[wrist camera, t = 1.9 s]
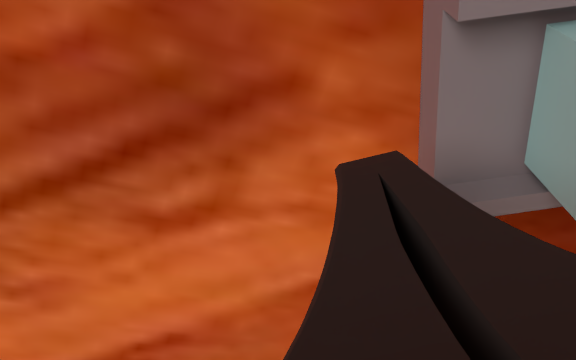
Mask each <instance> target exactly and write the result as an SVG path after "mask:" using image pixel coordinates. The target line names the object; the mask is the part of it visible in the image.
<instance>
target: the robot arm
mask: <svg viewBox="0 0 576 360" xmlns="http://www.w3.org/2000/svg"><path fill="white" fill-rule="evenodd" d="M335 174H336V179H337V186H338V192H337V206H336V213H335V221H334V227H333V232H332V237H331V241H330V245H329V250H328V254H327V258H326V261H325V265H324V268H323V271H322V275H321V277H320V280H319V283H318V286H317V289H316V292H315V294H314V297H313V299H312V302H311V304H310V306H309V309H308V311H307V314H306V316H305V318H304V320H303V323H302V325H301V327H300V329H299V331H298V333H297V335H296V337H295V339H294V341H293V342H292V344H291V346H290V348H289V350H288V352H287V353H286V355H285V357H284V359H283V360H576V254H574V253H572V252H569V251H566V250H564V249H561V248H559V247H556V246H554V245H552V244H549V243H547V242H544V241H542V240H540V239H538V238H536V237H534V236H532V235H529V234H527V233H525V232H523V231H521V230H519V229H517V228H514V227H512V226H510V225H509V224H507V223H505V222H503V221H501V220H499V219H497V218H495V217H494V216H492V215H490V214H488V213H487V212H485V211H483V210H481V209H480V208H478V207H476V206H475V205H473V204H472V203H470V202H468V201H467V200H465V199H464V198H462V197H461V196H459V195H458V194H456V193H455V192H453V191H452V190H450V189H449V188H447V187H446V186H444V185H443V184H441V183H440V182H439V181H437V180H436V179H434V178H433V177H432V176H430V175H429V174H428V173H426V172H425V171H423V170H422V169H421V168H419V167H418V166H417V165H416V164H414V163H413V162H412V161H410V160H409V159H408V158H407V157H405V156H404V155H403V154H401V153H400V152H398V151H393V152H389V153H384V154H380V155H376V156H372V157H367V158H363V159H359V160H355V161H350V162H346V163H342V164H339V165H338V166H337V168H336V169H335Z"/></svg>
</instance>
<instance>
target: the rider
mask: <svg viewBox="0 0 576 360" xmlns="http://www.w3.org/2000/svg"><path fill="white" fill-rule="evenodd" d="M524 163H525V165H526V166H527V167H528V168H529V169H530V170H531V171H532V172H533V173H534V175H535V176H536V177H537V178H538V179H539V180H540V181H541V182H542V183H543V185H544V186H545V187H546V188H547V189H548V190H549V191H550V192H551V193H552V195H553V196H554V197H555V198H556V199H557V200H558V201H559V202H560V203H561V205H562V206H563V207H564V208H565V209H566V210H567V211H568V212H569V213H570V215H571V216H572V217H573V218H574V219H575V220H576V20H573V21H565V22H558V23H550V24H547V25H546V32H545V38H544V44H543V50H542V56H541V62H540V69H539V75H538V81H537V87H536V93H535V100H534V106H533V112H532V118H531V124H530V130H529V137H528V143H527V149H526V155H525V161H524Z"/></svg>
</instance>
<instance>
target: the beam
mask: <svg viewBox="0 0 576 360" xmlns="http://www.w3.org/2000/svg"><path fill="white" fill-rule="evenodd" d="M573 20H576V0H424V7H423V37H422V67H421V96H420V126H419V156H418V167H419V168H421V169H422V170H423V171H425V172H426V173H428V174H429V175H430V176H432V177H433V178H434V179H436V180H437V181H439V182H440V183H441V184H443V185H444V186H446V187H447V188H449V189H450V190H452V191H453V192H455V193H456V194H458V195H459V196H461V197H462V198H464V199H465V200H467V201H468V202H470V203H472V204H473V205H475V206H476V207H478V208H480V209H481V210H483V211H485V212H487V213H488V214H490V215H492V216H500V215H507V214H514V213H521V212H528V211H535V210H542V209H549V208H556V207H563V206H562V205H561V203H560V202H559V201H558V200H557V199H556V198H555V197H554V196H553V195H552V193H551V192H550V191H549V190H548V189H547V188H546V187H545V186H544V185H543V183H542V182H541V181H540V180H539V179H538V178H537V177H536V176H535V175H534V173H533V172H532V171H531V170H530V169H529V168H528V167H527V166H526V165H525V163H524V161H525V155H526V149H527V143H528V137H529V130H530V124H531V118H532V112H533V106H534V100H535V93H536V87H537V81H538V75H539V69H540V62H541V56H542V50H543V44H544V38H545V32H546V25H547V24H550V23H558V22H565V21H573Z"/></svg>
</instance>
